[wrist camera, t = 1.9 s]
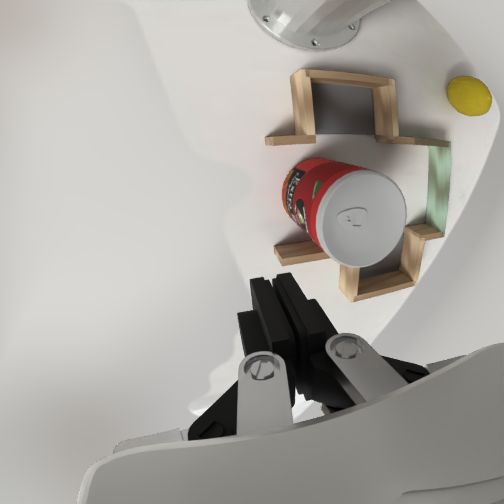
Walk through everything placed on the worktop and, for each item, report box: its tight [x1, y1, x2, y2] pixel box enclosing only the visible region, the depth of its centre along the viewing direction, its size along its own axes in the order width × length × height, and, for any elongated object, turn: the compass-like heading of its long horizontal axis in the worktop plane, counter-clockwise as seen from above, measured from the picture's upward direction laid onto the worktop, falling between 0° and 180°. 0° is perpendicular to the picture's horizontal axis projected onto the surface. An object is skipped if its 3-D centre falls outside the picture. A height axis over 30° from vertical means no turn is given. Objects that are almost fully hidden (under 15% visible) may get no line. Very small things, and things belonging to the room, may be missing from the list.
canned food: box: [282, 158, 407, 268], centre depth 24 cm, size 8×8×11 cm
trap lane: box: [265, 69, 451, 303], centre depth 28 cm, size 25×23×4 cm
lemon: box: [447, 76, 492, 116], centre depth 23 cm, size 6×6×8 cm
